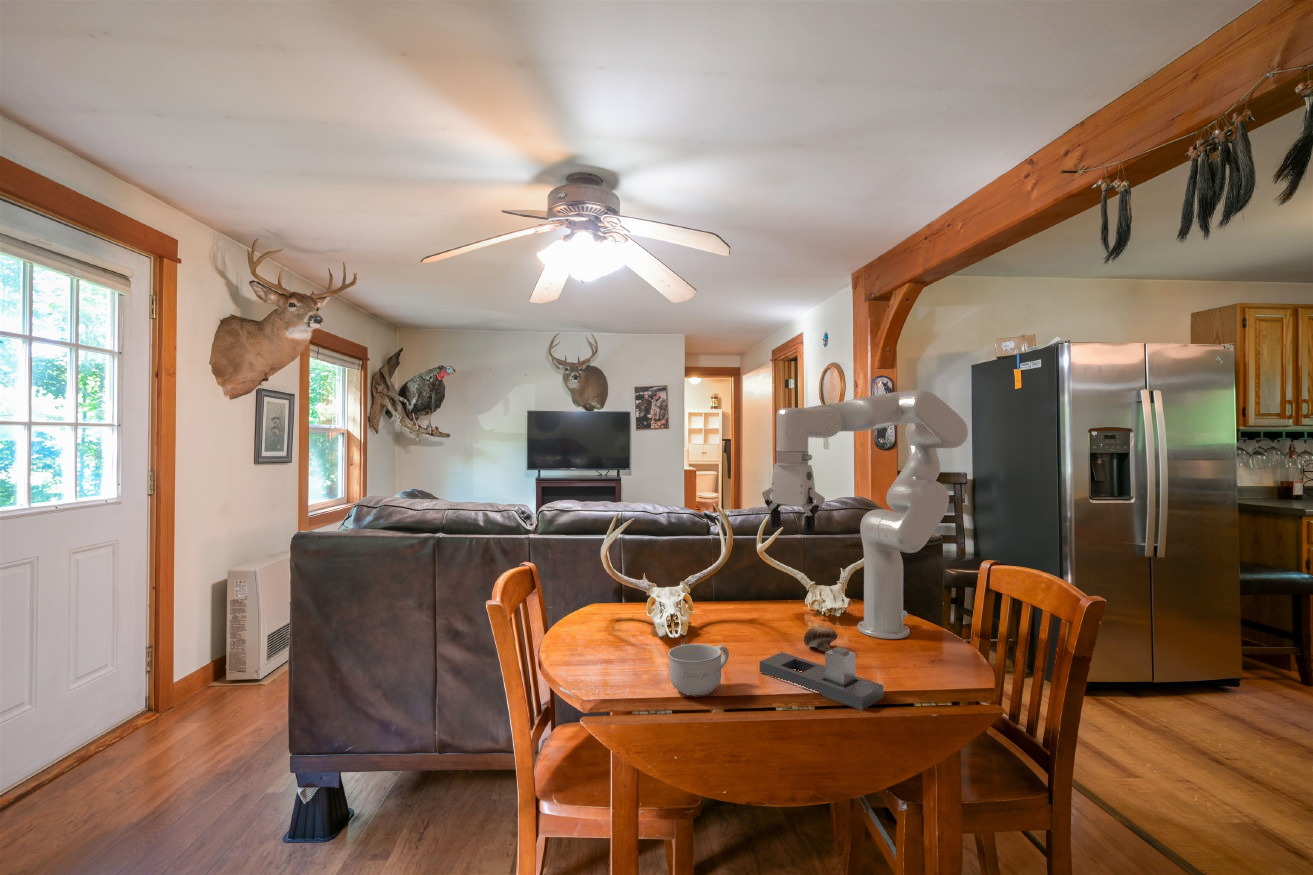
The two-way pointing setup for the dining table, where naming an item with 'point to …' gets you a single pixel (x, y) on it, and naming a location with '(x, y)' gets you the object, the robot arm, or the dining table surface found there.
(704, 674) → the teacup
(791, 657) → the rail
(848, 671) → the grey rectangular block
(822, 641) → the mushroom
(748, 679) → the dining table surface
